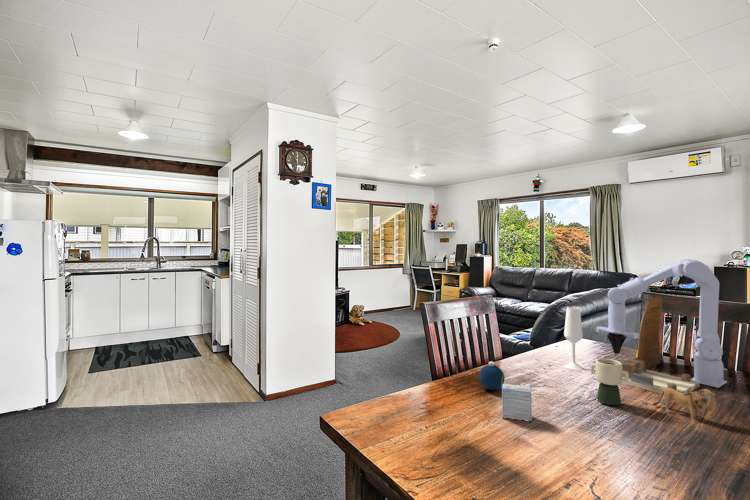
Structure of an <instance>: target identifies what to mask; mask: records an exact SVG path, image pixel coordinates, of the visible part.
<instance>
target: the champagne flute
mask: <svg viewBox="0 0 750 500" xmlns="http://www.w3.org/2000/svg"><path fill="white" fill-rule="evenodd" d="M581 315H582V314H581V308H580V307H576V306H575V307H574V306H567V307H566V310H565V318H564V320H565V322H564V331H563V335H564V338H565V339H566V340H567V341H568V342H569V343H571V362H569V363H566V364H565V365H564V368H566V369H568V370H575V371H581V370H583V366H581V365H579V364H578V363H576V343H578V342H580V341H581V340H582V339H583V337H584V335H583V326H582V316H581Z"/></svg>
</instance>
